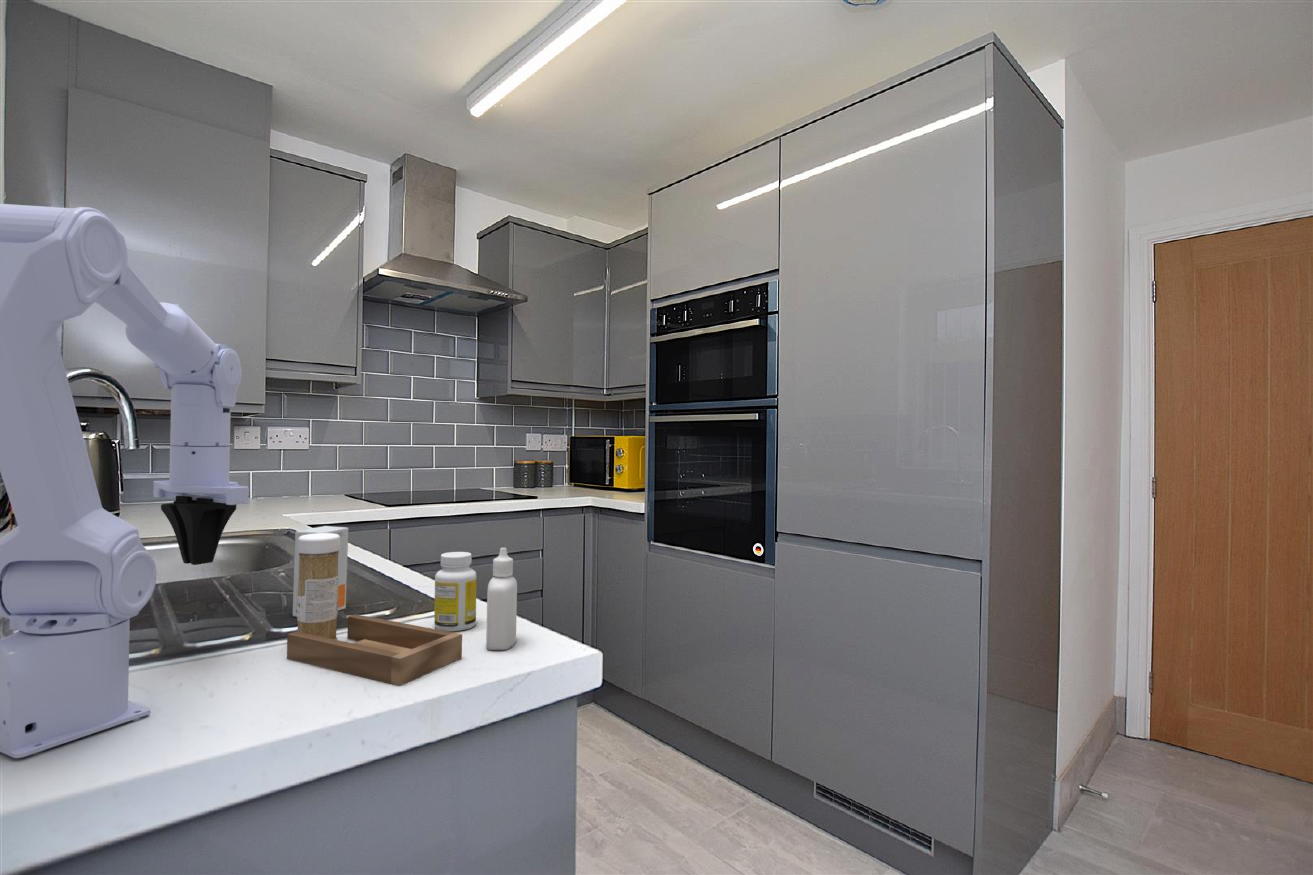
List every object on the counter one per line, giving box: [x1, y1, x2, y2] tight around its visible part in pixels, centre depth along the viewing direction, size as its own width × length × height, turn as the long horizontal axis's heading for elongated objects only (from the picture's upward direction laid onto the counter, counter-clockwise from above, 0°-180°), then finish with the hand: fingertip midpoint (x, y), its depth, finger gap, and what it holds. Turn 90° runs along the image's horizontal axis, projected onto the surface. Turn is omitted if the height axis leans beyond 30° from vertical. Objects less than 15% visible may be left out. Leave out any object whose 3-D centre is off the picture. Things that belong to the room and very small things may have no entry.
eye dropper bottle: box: [485, 547, 518, 651], centre depth 81 cm, size 4×6×12 cm
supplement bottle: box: [434, 551, 477, 632], centre depth 88 cm, size 5×5×10 cm
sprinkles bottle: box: [296, 533, 340, 640], centre depth 79 cm, size 5×5×14 cm
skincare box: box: [292, 525, 349, 618], centre depth 93 cm, size 6×4×12 cm
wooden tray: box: [286, 614, 463, 686], centre depth 75 cm, size 9×17×3 cm, turn 66°
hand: (198, 562), depth 76 cm, fingers closed
